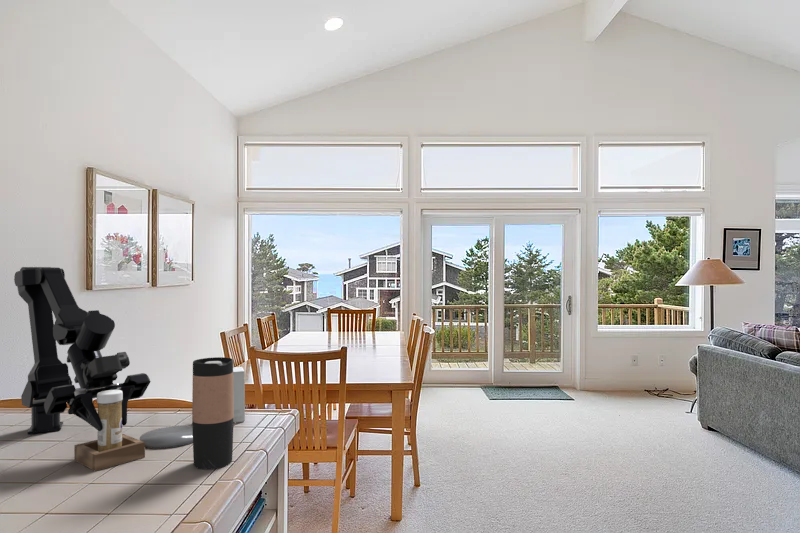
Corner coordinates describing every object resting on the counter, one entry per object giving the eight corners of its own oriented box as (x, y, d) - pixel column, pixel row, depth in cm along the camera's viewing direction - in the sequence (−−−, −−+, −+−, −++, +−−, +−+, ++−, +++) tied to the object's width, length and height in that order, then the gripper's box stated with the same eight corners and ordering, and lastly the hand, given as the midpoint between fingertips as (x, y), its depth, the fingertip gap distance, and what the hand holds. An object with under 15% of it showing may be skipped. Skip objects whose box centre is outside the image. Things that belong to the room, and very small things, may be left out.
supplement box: (245, 422, 133) (245, 371, 133) (213, 425, 130) (213, 373, 130) (243, 414, 140) (242, 366, 140) (212, 417, 137) (212, 368, 137)
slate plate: (138, 435, 122) (138, 430, 122) (199, 427, 128) (199, 423, 128) (140, 452, 111) (140, 447, 111) (206, 442, 117) (206, 438, 117)
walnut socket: (74, 460, 106) (74, 445, 106) (122, 447, 114) (122, 433, 114) (95, 471, 100) (95, 455, 100) (144, 457, 108) (144, 442, 108)
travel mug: (198, 456, 108) (198, 357, 108) (237, 455, 109) (237, 356, 109) (186, 470, 100) (186, 364, 101) (228, 469, 101) (228, 363, 101)
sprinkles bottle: (124, 459, 106) (124, 392, 106) (97, 464, 104) (97, 395, 104) (121, 453, 110) (121, 387, 110) (96, 457, 108) (95, 390, 108)
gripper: (49, 345, 102) (73, 413, 95) (146, 335, 117) (173, 393, 110) (34, 381, 107) (56, 448, 100) (128, 368, 122) (153, 425, 115)
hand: (113, 427), depth 106 cm, fingers closed on sprinkles bottle, 4 cm apart
